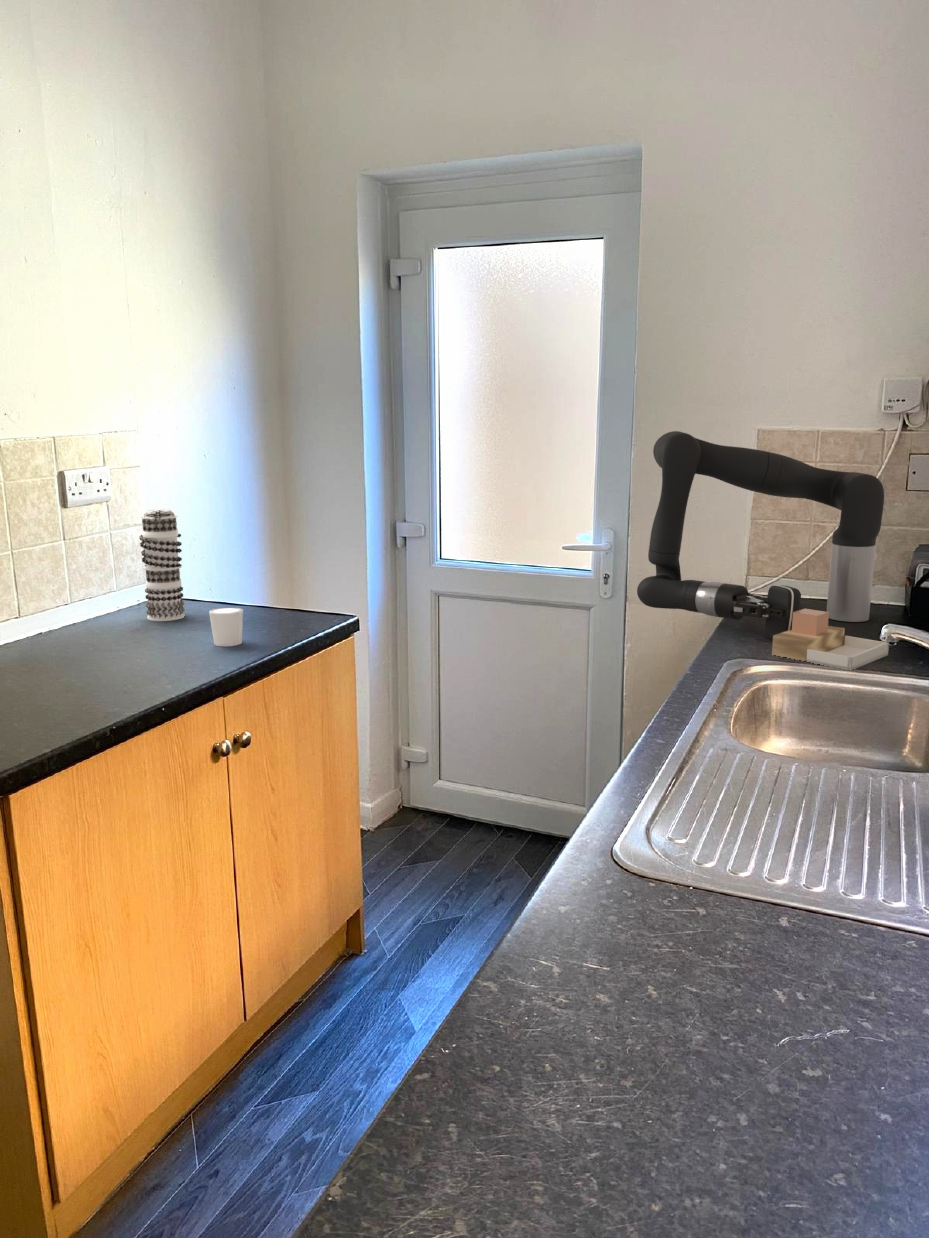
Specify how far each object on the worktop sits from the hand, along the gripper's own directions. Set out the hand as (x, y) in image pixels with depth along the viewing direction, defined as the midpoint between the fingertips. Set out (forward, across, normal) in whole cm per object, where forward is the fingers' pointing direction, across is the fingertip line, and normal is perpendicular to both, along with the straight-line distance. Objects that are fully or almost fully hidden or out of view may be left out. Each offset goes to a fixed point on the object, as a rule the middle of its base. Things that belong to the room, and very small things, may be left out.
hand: (794, 611), depth 197 cm
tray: (+14, -5, +7) cm, 16 cm away
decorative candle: (-114, -81, +7) cm, 140 cm away
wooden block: (+6, -5, +7) cm, 10 cm away
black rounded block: (-3, 0, +7) cm, 7 cm away
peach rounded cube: (+6, -5, +3) cm, 8 cm away
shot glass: (-81, -84, +7) cm, 117 cm away
